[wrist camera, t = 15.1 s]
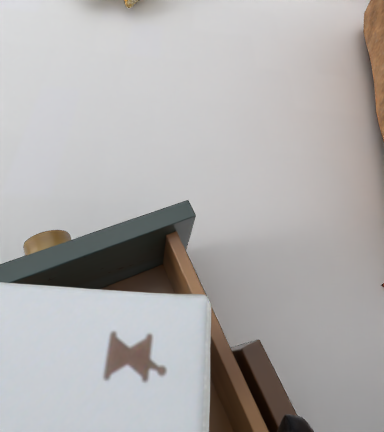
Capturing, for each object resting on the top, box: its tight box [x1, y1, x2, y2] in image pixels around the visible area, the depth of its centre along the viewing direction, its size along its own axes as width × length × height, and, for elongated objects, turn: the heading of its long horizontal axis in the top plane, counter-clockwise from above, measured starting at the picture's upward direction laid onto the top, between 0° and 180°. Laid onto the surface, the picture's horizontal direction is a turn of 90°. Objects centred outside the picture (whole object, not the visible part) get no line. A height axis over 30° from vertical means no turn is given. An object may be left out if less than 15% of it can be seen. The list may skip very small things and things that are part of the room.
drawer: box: [0, 200, 269, 432], centre depth 12 cm, size 12×12×5 cm
